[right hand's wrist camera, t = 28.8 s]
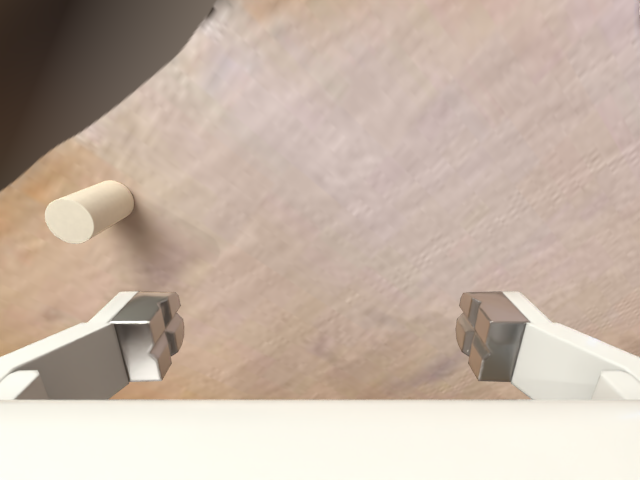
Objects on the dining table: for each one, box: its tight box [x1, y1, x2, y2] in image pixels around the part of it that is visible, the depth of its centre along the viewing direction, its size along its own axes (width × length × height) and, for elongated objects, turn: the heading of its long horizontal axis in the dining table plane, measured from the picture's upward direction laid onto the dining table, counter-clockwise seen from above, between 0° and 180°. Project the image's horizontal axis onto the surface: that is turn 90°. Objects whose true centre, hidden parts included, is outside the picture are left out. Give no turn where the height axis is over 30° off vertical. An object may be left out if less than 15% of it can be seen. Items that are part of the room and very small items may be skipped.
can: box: [45, 180, 134, 244], centre depth 39 cm, size 5×5×8 cm
